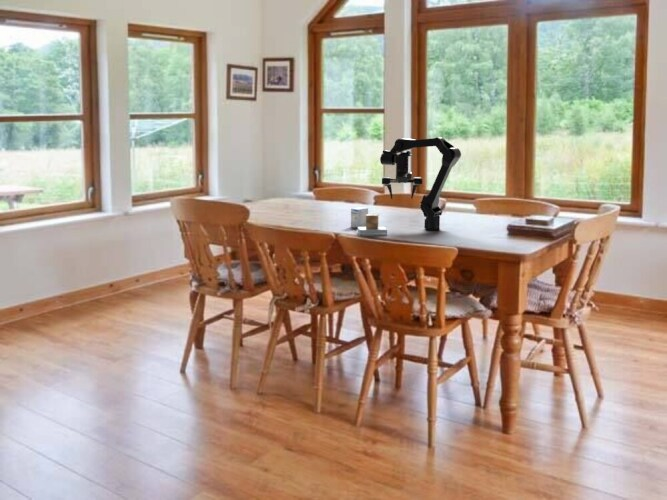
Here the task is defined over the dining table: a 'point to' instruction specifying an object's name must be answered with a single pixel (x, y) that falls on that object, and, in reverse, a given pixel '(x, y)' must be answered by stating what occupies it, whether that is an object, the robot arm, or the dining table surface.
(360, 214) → the medicine box
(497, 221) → the dining table surface
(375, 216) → the walnut block
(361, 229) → the book
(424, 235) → the dining table surface
